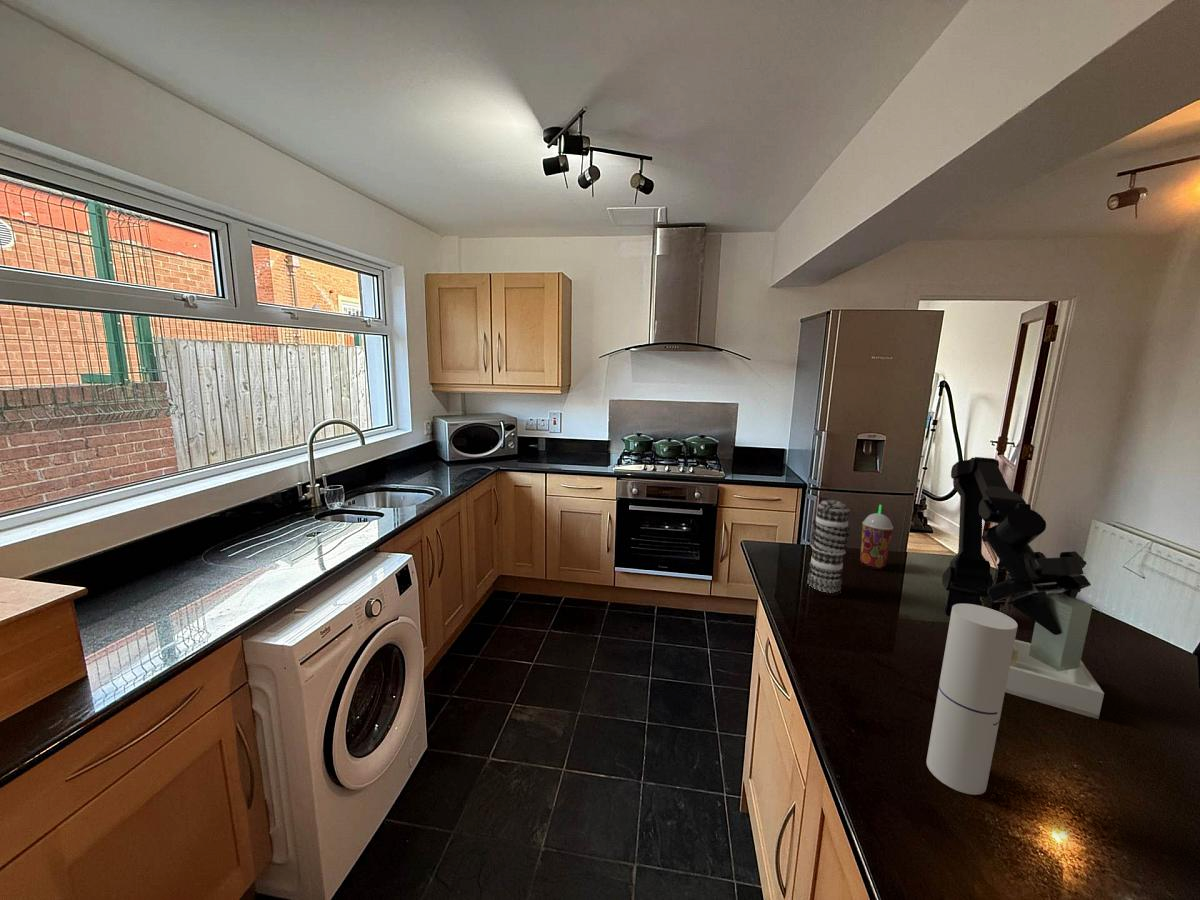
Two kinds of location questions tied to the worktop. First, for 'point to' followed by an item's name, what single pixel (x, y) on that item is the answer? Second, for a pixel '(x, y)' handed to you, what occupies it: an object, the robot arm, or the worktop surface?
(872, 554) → the smoothie
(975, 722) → the cylindrical container
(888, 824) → the worktop surface
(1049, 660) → the sage tin
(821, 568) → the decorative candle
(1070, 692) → the white tote
